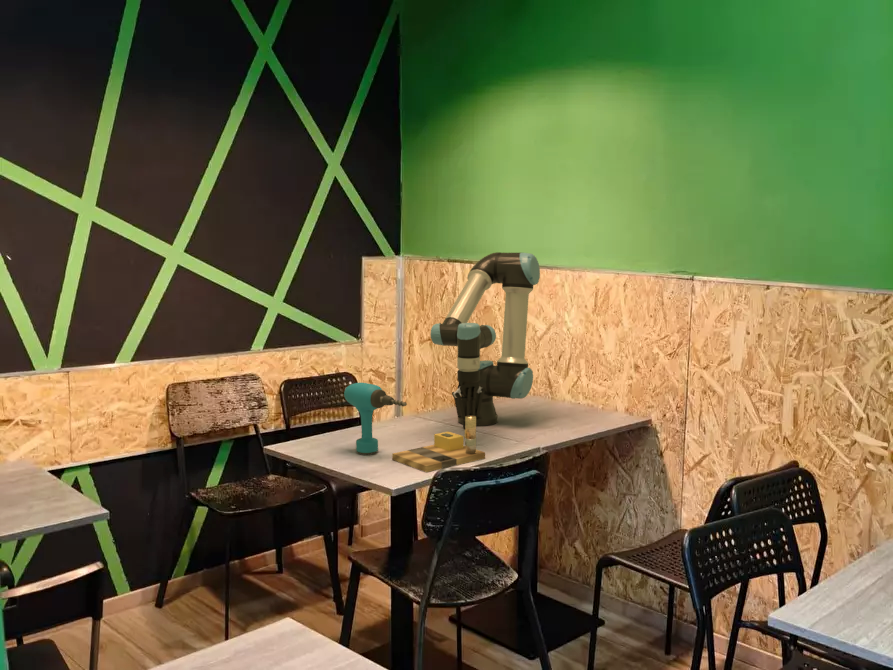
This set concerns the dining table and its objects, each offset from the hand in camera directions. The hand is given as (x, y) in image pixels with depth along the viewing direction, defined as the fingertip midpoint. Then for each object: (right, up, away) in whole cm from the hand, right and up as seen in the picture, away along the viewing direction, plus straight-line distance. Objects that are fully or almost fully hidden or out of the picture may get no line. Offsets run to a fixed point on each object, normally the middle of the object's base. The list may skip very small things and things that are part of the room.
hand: (468, 438), depth 286 cm
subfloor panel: (-10, -5, -12) cm, 16 cm away
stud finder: (-7, -2, -5) cm, 9 cm away
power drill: (-30, -5, -7) cm, 32 cm away
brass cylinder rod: (0, -3, -12) cm, 13 cm away
